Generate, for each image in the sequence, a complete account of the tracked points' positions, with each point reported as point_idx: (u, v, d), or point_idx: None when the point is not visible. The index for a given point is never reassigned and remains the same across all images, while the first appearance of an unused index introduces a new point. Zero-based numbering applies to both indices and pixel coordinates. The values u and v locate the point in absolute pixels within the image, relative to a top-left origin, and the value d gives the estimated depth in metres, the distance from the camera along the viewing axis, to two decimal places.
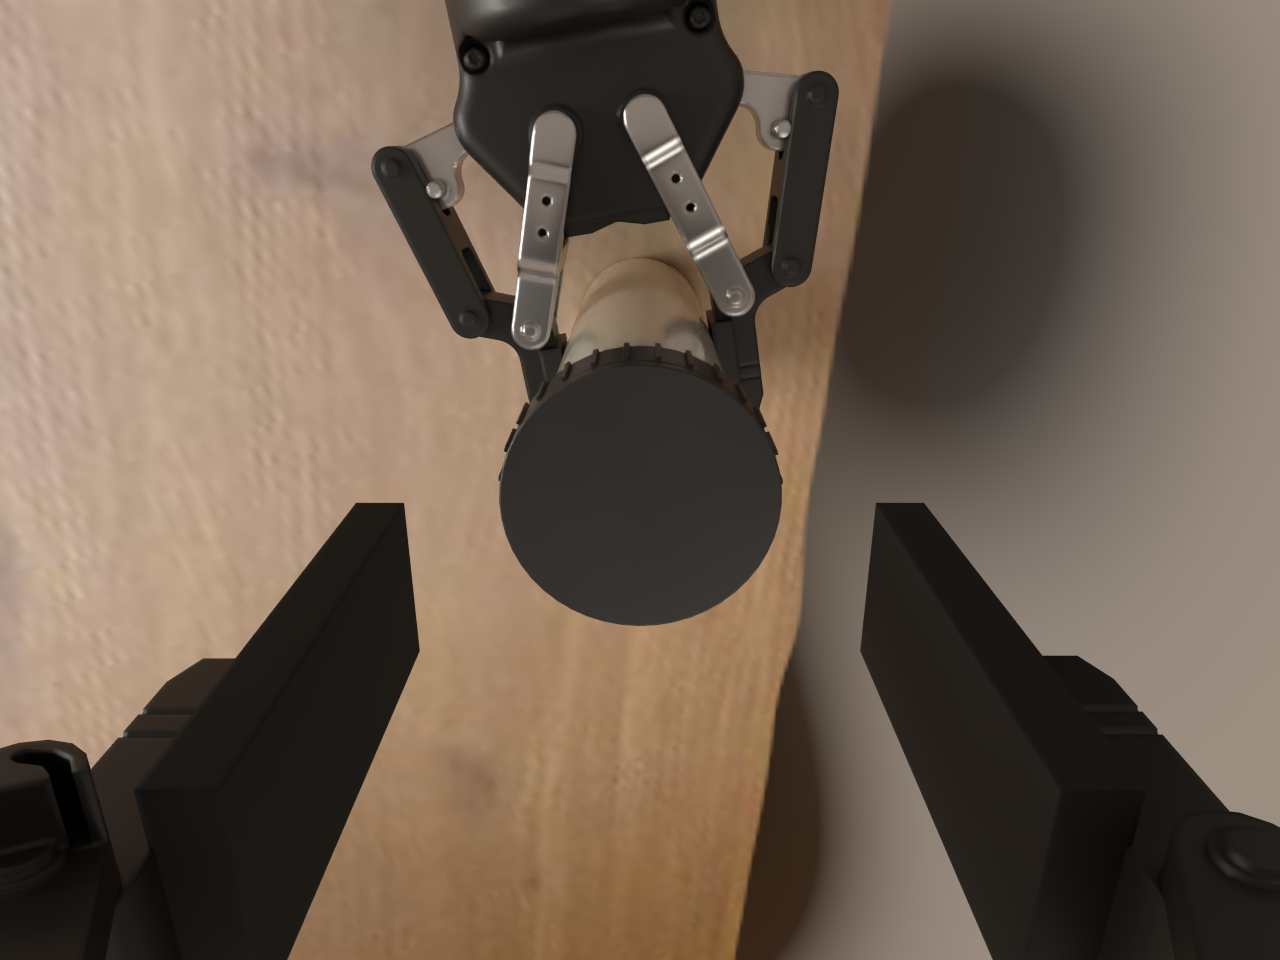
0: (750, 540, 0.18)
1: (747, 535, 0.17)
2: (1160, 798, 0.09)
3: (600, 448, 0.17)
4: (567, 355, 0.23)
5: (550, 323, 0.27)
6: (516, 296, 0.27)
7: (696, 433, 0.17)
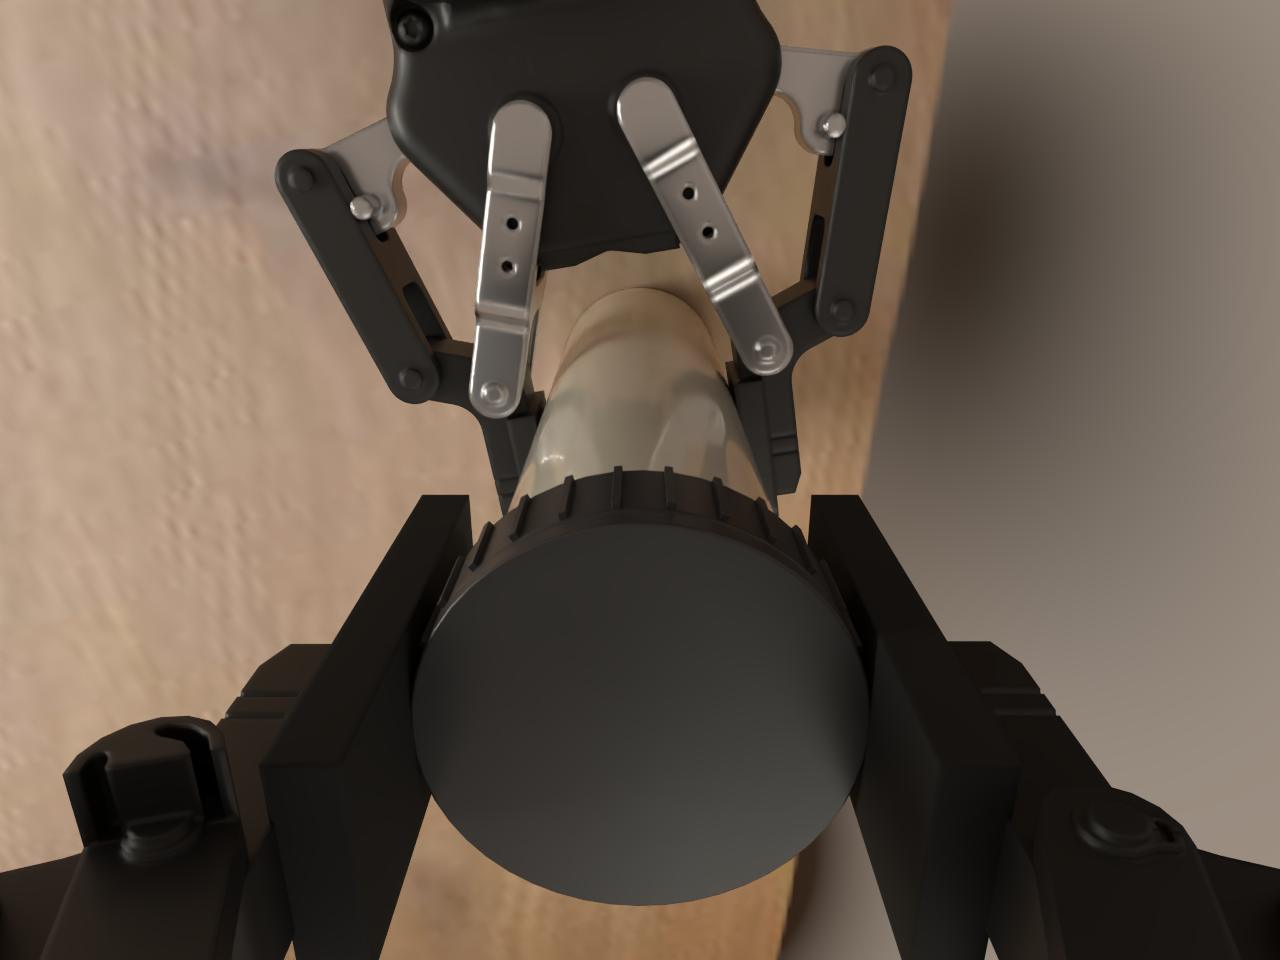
0: (817, 786, 0.11)
1: (813, 779, 0.11)
2: (1046, 774, 0.09)
3: (574, 651, 0.10)
4: (537, 446, 0.16)
5: (521, 384, 0.20)
6: (475, 349, 0.20)
7: (733, 629, 0.10)
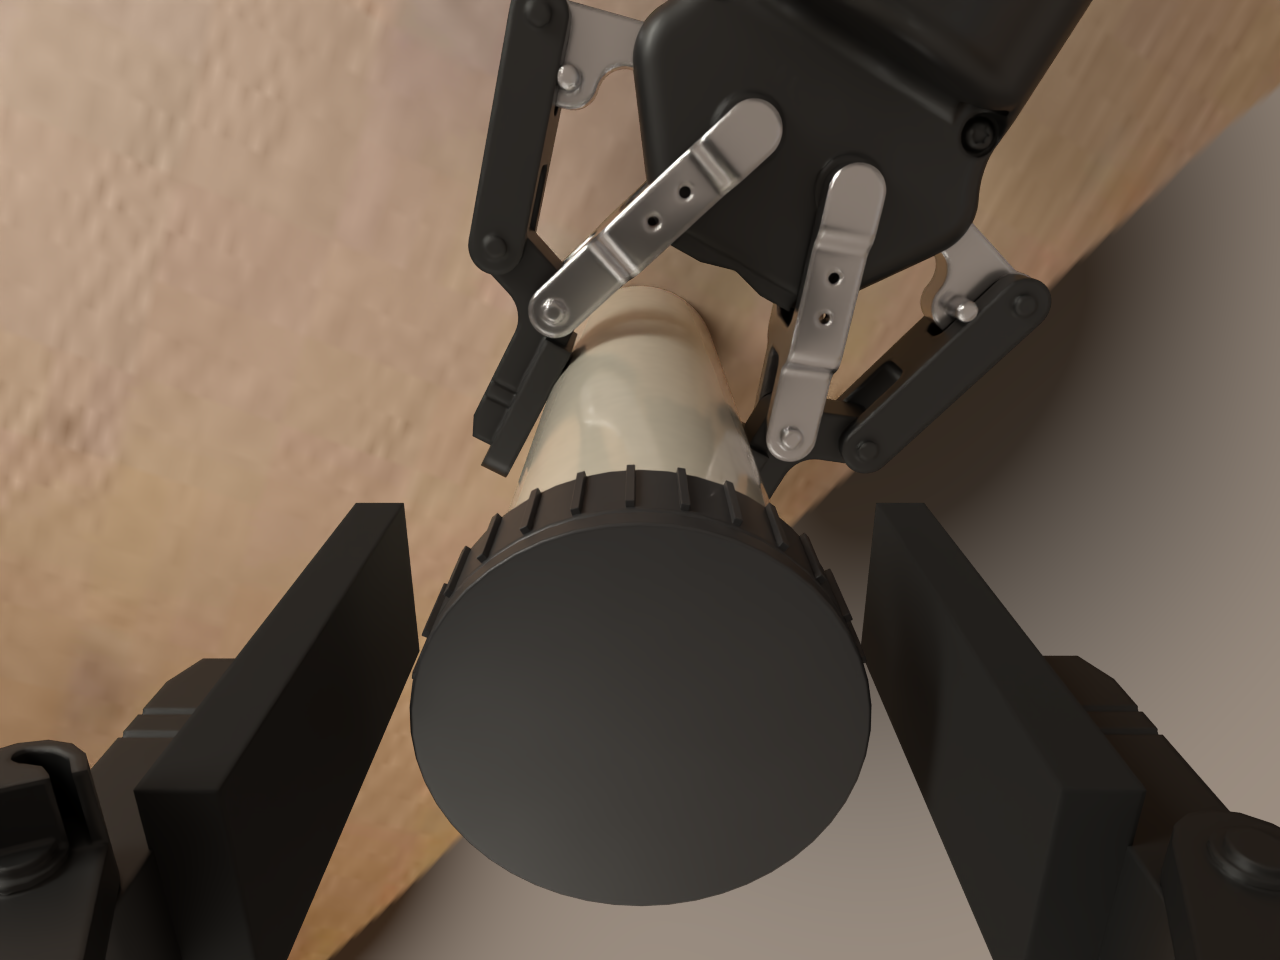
0: (795, 622, 0.10)
1: (783, 622, 0.10)
2: (1159, 798, 0.09)
3: (525, 741, 0.11)
4: (608, 396, 0.16)
5: (582, 320, 0.20)
6: (568, 264, 0.20)
7: (574, 615, 0.10)
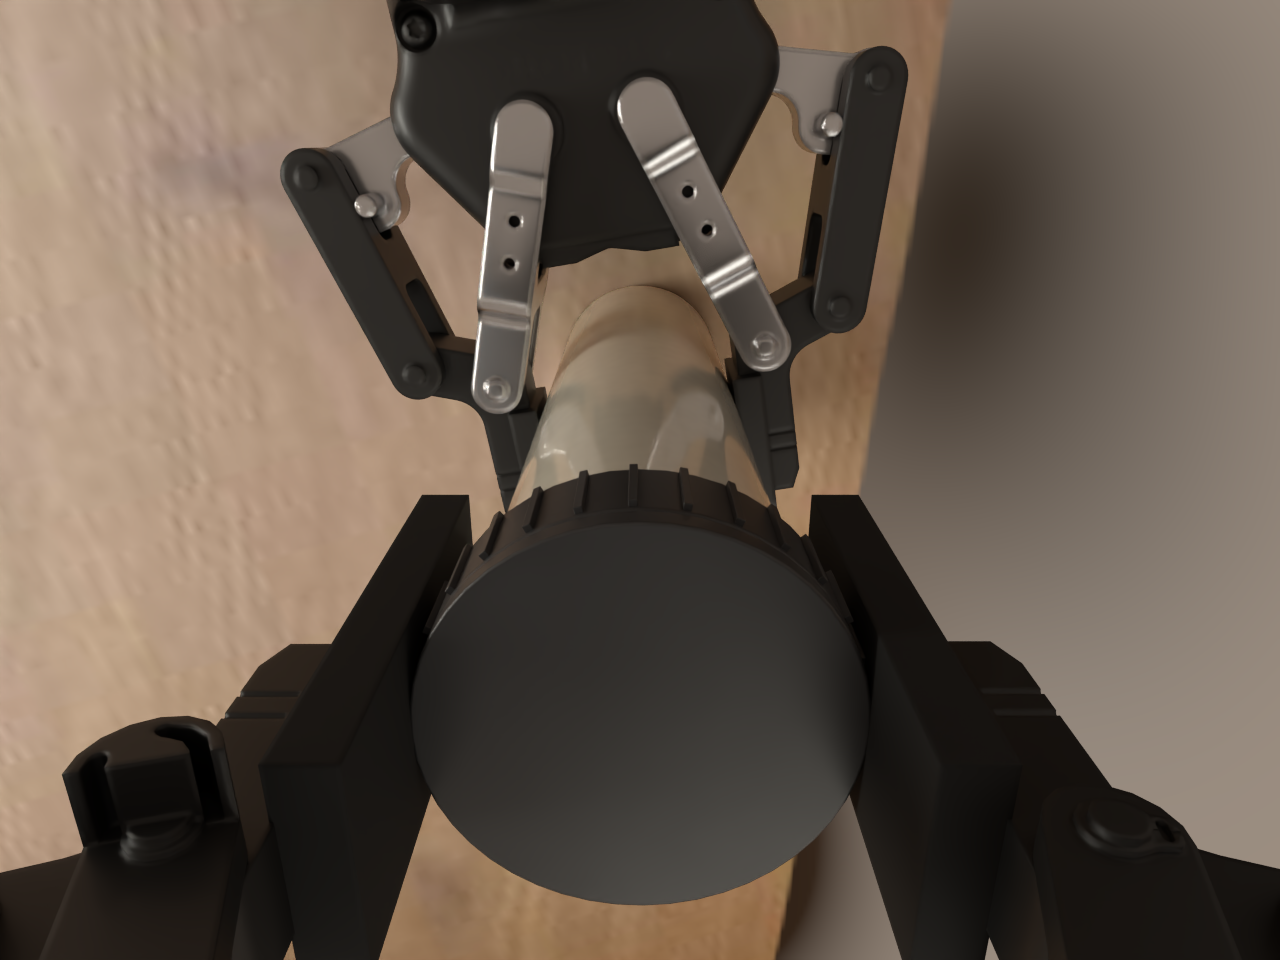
0: (681, 561, 0.10)
1: (671, 568, 0.10)
2: (1046, 774, 0.09)
3: (557, 795, 0.11)
4: (538, 440, 0.16)
5: (522, 380, 0.21)
6: (477, 345, 0.20)
7: (503, 674, 0.10)
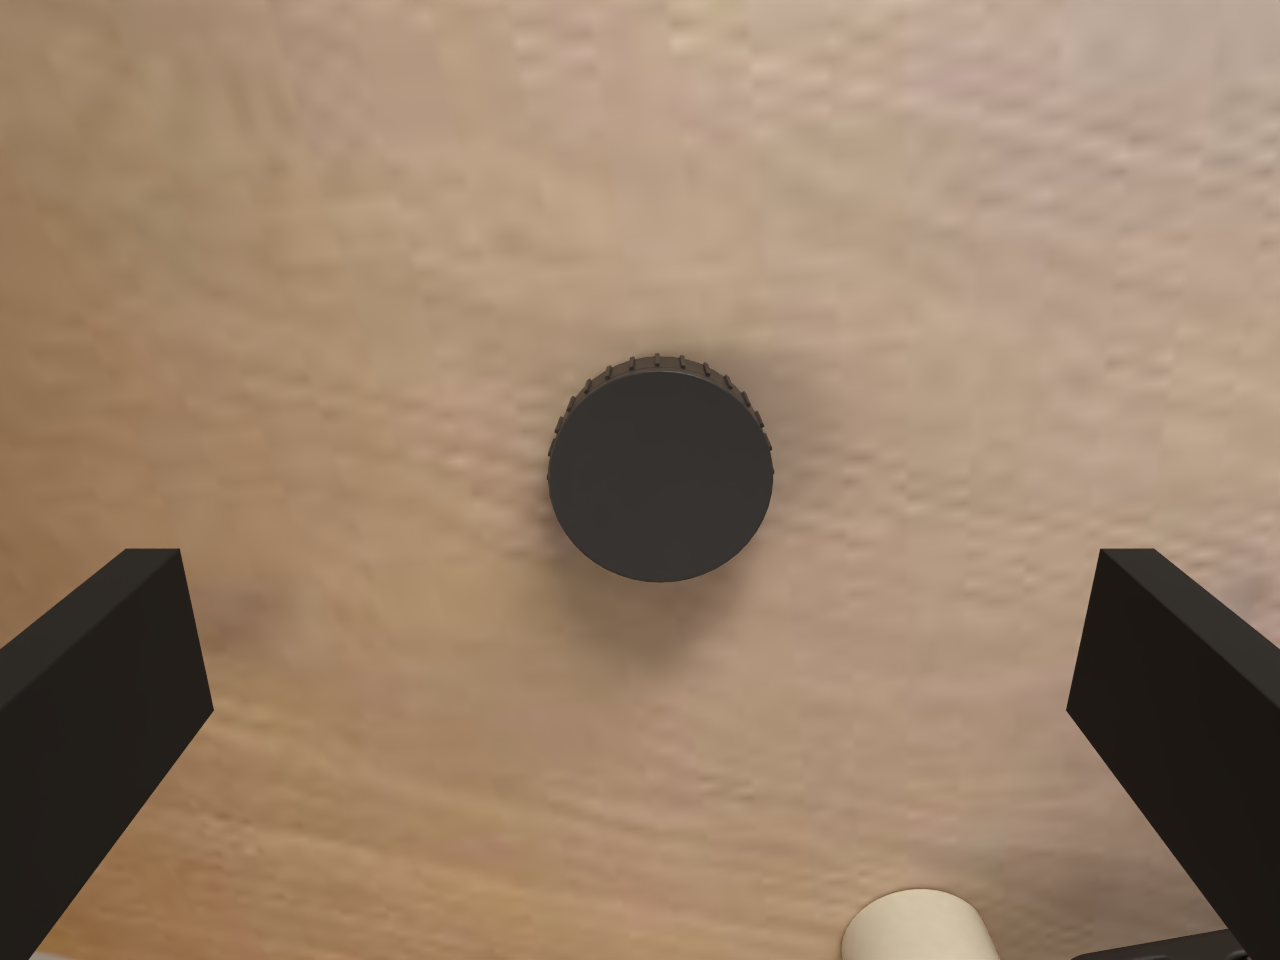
0: (679, 390, 0.21)
1: (675, 393, 0.21)
2: None
3: (619, 516, 0.22)
4: None
5: None
6: None
7: (595, 449, 0.21)
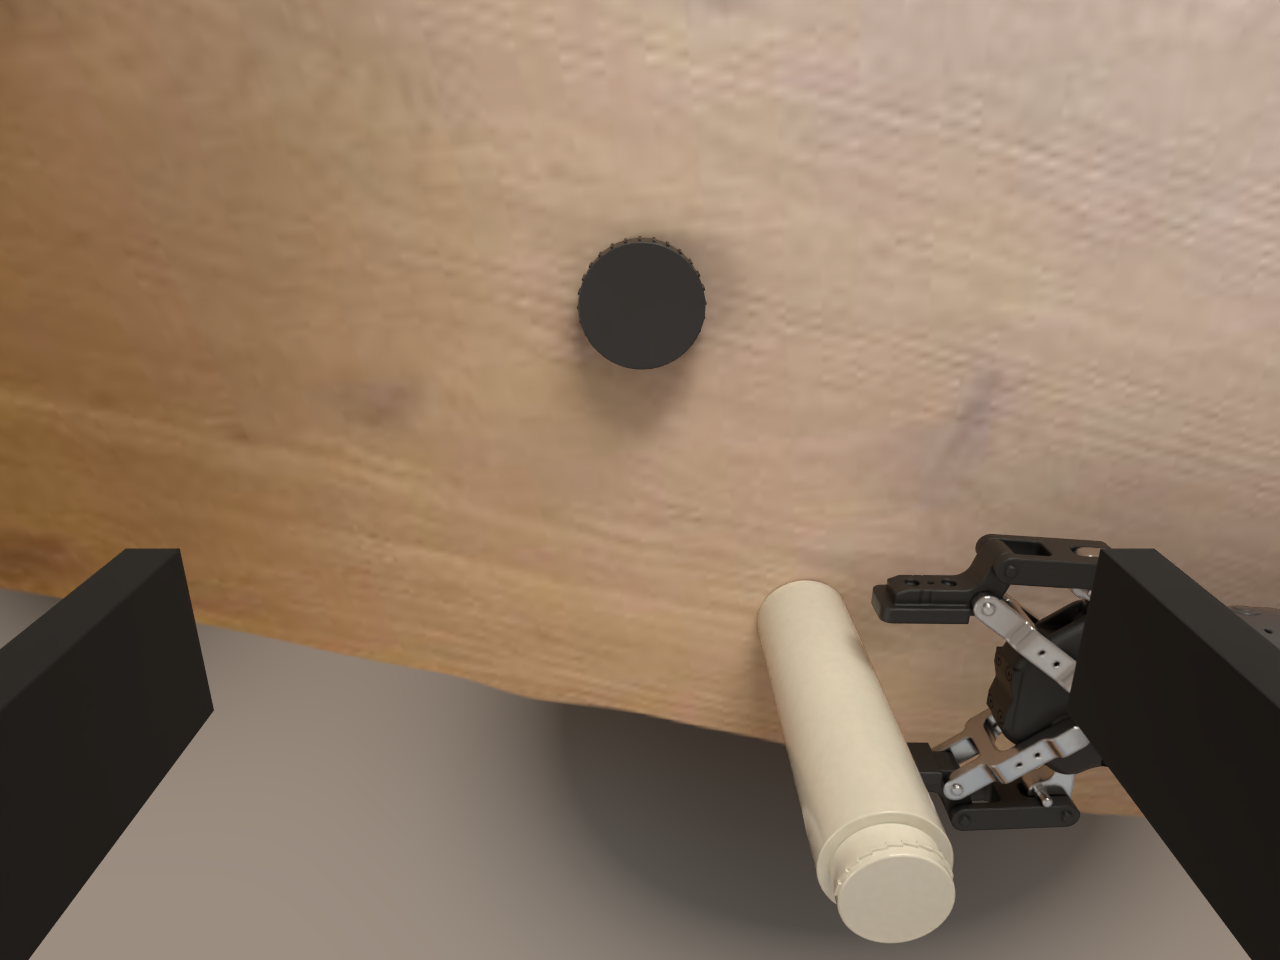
0: (652, 253, 0.38)
1: (649, 255, 0.38)
2: None
3: (618, 328, 0.39)
4: (904, 746, 0.34)
5: (983, 622, 0.37)
6: (1013, 612, 0.37)
7: (604, 288, 0.38)
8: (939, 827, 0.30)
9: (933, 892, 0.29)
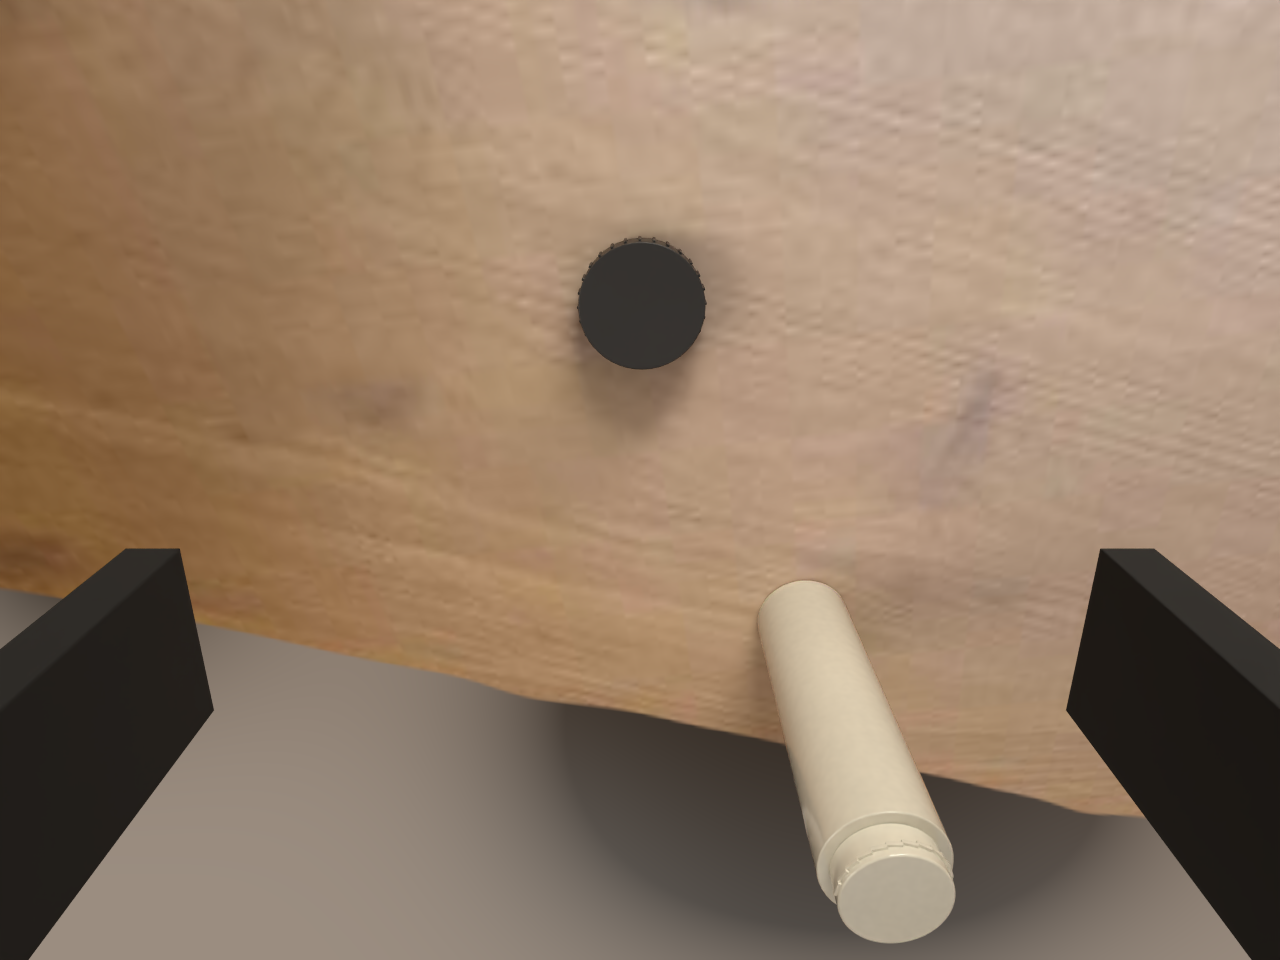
0: (652, 253, 0.38)
1: (649, 255, 0.38)
2: None
3: (618, 328, 0.39)
4: (904, 746, 0.34)
5: None
6: None
7: (604, 288, 0.38)
8: (939, 827, 0.30)
9: (933, 892, 0.29)
